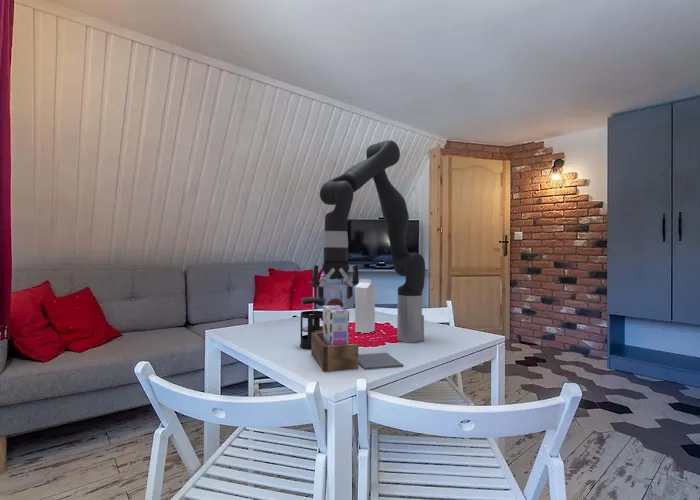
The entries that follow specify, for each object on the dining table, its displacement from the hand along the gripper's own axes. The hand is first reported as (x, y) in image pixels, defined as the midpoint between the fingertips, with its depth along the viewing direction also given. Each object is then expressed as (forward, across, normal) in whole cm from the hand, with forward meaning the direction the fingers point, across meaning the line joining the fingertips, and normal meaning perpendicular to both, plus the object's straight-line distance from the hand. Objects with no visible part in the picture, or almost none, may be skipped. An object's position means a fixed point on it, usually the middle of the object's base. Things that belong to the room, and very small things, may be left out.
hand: (335, 298), depth 122 cm
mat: (+19, -12, +4) cm, 23 cm away
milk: (+19, -22, -38) cm, 48 cm away
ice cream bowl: (+19, -7, -33) cm, 39 cm away
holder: (+19, 0, 0) cm, 19 cm away
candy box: (+19, 0, 0) cm, 19 cm away
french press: (+19, +3, -20) cm, 28 cm away
